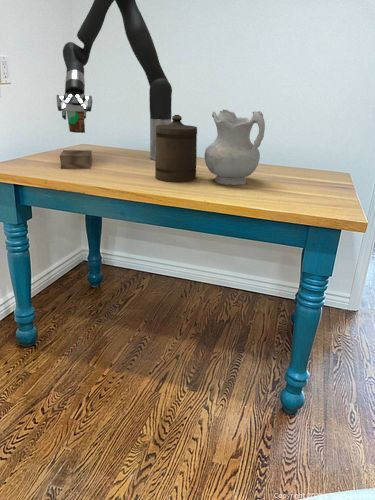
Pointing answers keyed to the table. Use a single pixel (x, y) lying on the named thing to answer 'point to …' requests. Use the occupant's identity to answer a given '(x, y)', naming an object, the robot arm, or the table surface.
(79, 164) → the walnut block
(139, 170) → the table surface
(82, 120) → the food container
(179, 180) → the wooden container
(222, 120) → the ceramic pitcher
